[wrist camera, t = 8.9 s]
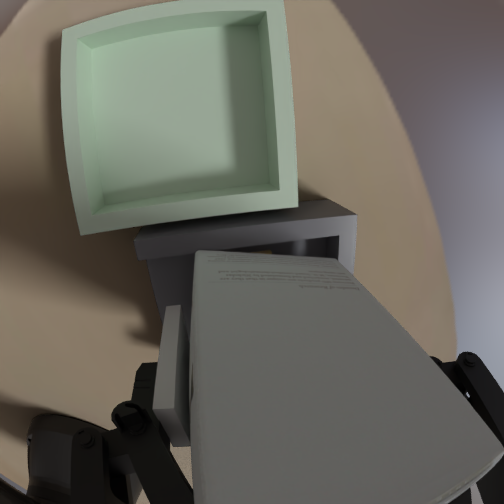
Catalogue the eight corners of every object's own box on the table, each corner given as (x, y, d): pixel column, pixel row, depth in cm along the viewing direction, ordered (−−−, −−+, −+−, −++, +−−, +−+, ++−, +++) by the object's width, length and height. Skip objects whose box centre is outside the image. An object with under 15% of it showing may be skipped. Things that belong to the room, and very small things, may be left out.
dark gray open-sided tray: (178, 352, 20) (176, 388, 17) (146, 219, 16) (133, 240, 13) (323, 330, 21) (341, 360, 18) (329, 199, 17) (357, 214, 14)
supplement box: (192, 245, 13) (206, 577, 2) (338, 256, 15) (517, 447, 3) (187, 363, 16) (203, 581, 4) (306, 362, 17) (389, 540, 6)
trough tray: (98, 219, 16) (80, 235, 13) (82, 44, 11) (62, 29, 9) (282, 195, 17) (298, 206, 14) (269, 18, 13) (282, -2, 10)
